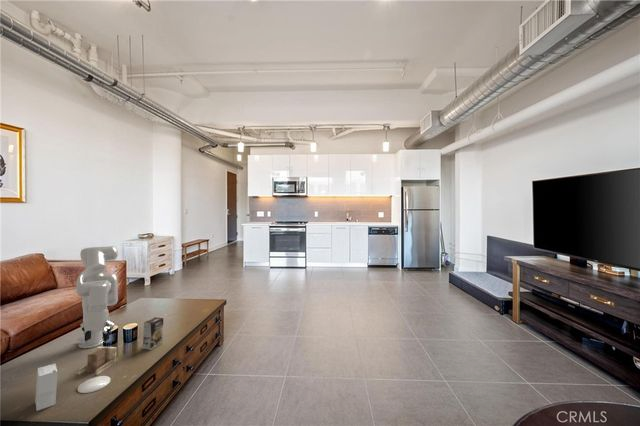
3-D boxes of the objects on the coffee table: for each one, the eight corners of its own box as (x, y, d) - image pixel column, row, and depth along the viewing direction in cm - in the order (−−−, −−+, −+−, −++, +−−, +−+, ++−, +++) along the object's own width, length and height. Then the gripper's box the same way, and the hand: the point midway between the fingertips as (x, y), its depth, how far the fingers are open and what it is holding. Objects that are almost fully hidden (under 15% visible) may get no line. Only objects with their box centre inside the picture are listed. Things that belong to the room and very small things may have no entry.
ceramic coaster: (70, 392, 122) (70, 391, 122) (92, 376, 134) (92, 375, 134) (96, 393, 122) (96, 392, 122) (116, 377, 134) (116, 376, 134)
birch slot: (77, 374, 135) (77, 358, 135) (97, 361, 148) (98, 346, 148) (97, 375, 135) (98, 359, 135) (116, 361, 148) (116, 347, 148)
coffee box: (151, 350, 161) (152, 323, 161) (142, 348, 162) (143, 322, 162) (163, 343, 170) (164, 317, 170) (154, 341, 171) (155, 316, 171)
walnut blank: (87, 371, 138) (87, 354, 138) (95, 366, 143) (95, 349, 143) (96, 372, 138) (97, 354, 138) (104, 366, 143) (105, 349, 143)
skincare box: (34, 402, 115) (36, 368, 115) (54, 395, 120) (55, 362, 120) (36, 412, 110) (37, 376, 110) (56, 404, 115) (58, 369, 115)
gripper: (75, 309, 137) (74, 343, 136) (108, 310, 137) (107, 343, 136) (88, 304, 144) (86, 336, 144) (119, 305, 144) (118, 337, 144)
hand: (97, 340), depth 140 cm, fingers open, 9 cm apart
